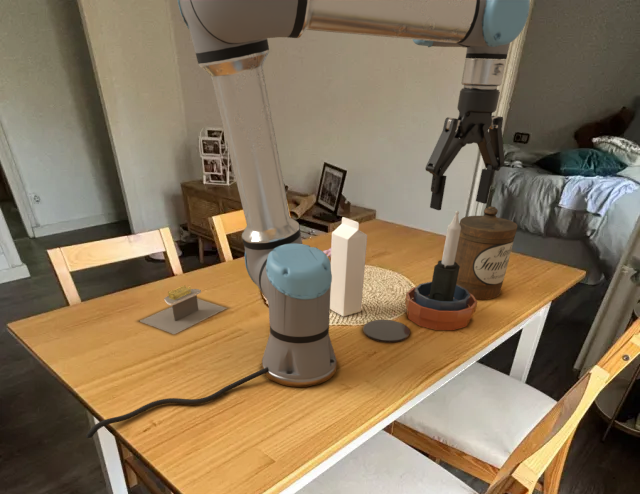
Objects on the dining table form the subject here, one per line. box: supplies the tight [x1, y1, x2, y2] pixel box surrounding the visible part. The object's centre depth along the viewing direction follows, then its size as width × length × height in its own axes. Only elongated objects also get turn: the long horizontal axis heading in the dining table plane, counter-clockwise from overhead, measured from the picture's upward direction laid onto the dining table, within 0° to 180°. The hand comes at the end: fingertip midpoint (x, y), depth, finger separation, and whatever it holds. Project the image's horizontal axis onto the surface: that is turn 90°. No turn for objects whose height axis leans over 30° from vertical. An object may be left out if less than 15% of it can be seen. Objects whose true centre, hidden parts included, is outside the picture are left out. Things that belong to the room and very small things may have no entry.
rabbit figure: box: [322, 247, 331, 259], centre depth 153 cm, size 6×6×15 cm
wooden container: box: [455, 205, 518, 301], centre depth 129 cm, size 15×15×22 cm
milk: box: [330, 216, 368, 318], centre depth 116 cm, size 6×6×22 cm
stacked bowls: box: [404, 281, 478, 331], centre depth 119 cm, size 17×17×6 cm
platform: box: [139, 284, 228, 335], centre depth 116 cm, size 12×18×7 cm, turn 147°
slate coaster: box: [362, 319, 411, 344], centre depth 113 cm, size 11×11×1 cm
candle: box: [429, 210, 461, 301], centre depth 113 cm, size 5×5×25 cm
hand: (458, 205), depth 105 cm, fingers open, 13 cm apart
